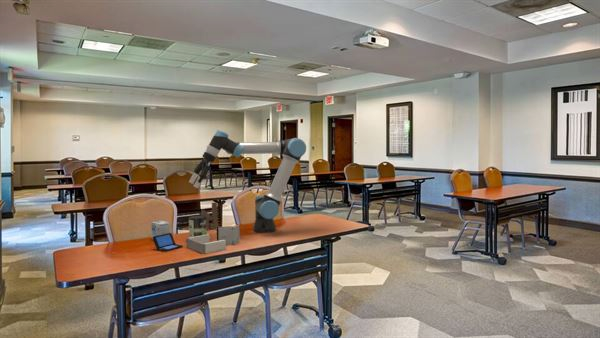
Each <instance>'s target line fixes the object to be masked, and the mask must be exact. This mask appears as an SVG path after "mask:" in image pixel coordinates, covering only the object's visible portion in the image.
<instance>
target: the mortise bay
mask: <svg viewBox="0 0 600 338" xmlns="http://www.w3.org/2000/svg"><path fill="white" fill-rule="evenodd" d="M185 239H186V240H185V241H186V244H185V245H186V248H188V249H190V250H193V251H195V252H198V253H199V254H201V255H205V254H210V253H214V252H219V251H225V250H227V245H226V240H220V241H217V240H216V241H215V240H214V241H211V237H210V234H209V233H207V235H201V236H195V237H189V236H188V237H186V238H185Z"/></svg>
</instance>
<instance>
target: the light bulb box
mask: <svg viewBox="0 0 600 338" xmlns="http://www.w3.org/2000/svg"><path fill="white" fill-rule="evenodd" d="M170 226H171V225H170V222H169V221H165V220H157V221H151V239H152V240H153V237H154V236H158V235H163V234H167V233H171V229H170Z"/></svg>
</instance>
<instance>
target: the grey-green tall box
mask: <svg viewBox="0 0 600 338" xmlns="http://www.w3.org/2000/svg"><path fill="white" fill-rule="evenodd" d="M188 230H189V231H188V234H189V235H188V238H189V237H195V236H201V235H207V234H208V233H207V231H208V230H207V231H206V216H202V214H201V215H190V216H189V217H188Z"/></svg>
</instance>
